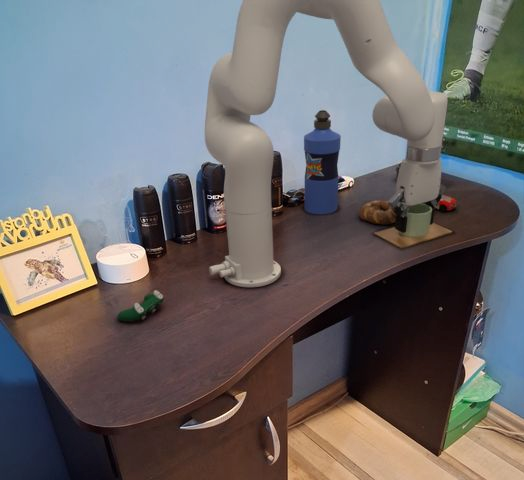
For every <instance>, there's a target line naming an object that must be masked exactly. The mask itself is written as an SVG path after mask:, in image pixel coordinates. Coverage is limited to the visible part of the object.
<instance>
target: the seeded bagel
mask: <svg viewBox="0 0 524 480" xmlns="http://www.w3.org/2000/svg"><path fill="white" fill-rule="evenodd" d="M389 200H390V199H388V200H386V201H385V200H381V199H375V200H372V201H369V202H367V203H364V204H363V205H361V207H360V208H359V210H358V216H359V218H360V219H361V220H363V221H366V222H367V221H368V223H371V224H374V225H375V224H380V225H384V226H386V225H391V224H396V214H395V213H394V211H393V210H392V209H391V207H390V205H389V203H388V202H389ZM397 204H399V202H398V203H397Z"/></svg>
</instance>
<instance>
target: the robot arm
mask: <svg viewBox="0 0 524 480" xmlns="http://www.w3.org/2000/svg"><path fill="white" fill-rule="evenodd" d="M296 13H299V14H302V15H305V16H309V17H314V18H318V19H325V20H332V21H333V22H334V23H335V26H336V28H337V30H338V33H339V35H340V37H341V39H342V41H343V44H344V46H345V48H346V51H347V54H348V55H349V57H350V60H351V62H352V65H353V66H354V68H355V69H356V70H357V72H359V73H360V74H361V75H362V76H363V77H364V78H365V79H367V80H368V81H369V82H371V83H372V84H374V85H375V86H376V87H377V88H378V89H379V90H381V91H382V93H384V95H385V96H383V97H382V98H380V99H379V100H378V101H377V102H376V103H375V105H374V107H373V110H372V115H371V116H372V121H373V124H374V125H375V126H376V128H378V129H379V130H380V131H382V132H385V133H386V134H390V135H393V136H397V137H399V138H402V139H404V140H406V148H405V156H404V157H405V158H404V159H402V161H401V162H402V163H401V162H400V163H401V166H400V167H399V168H400V169H399V173H398V178H396V183H395V191H394V194H393V195H392V197H391V198H389V199H388V200H389V202H388V203H389V205H390V207H391V209H392V210H393V211H394V213H395V214H396V223H395V225H394V227H395V229H396V230H398V231H400V232H402V233H405V232H406V226H407V217H406V214H407V212H408V210H409V208H410V206H414V205H417V204H421V203H426V205H428V206H430V207H431V208H432V214H431V221H430V225H431V224H433V223H434V218H435V212H436V211H435V210H436V209H435V208H437V206H438V202H439V201H440V200H441V198H442V195H443V194H444V193H445V192H446V190H447V187H446V186H445V185H444V184H443V183H442V182H441V180H442V157H441V153H442V150H443V148H444V145H443V139H444V130H445V124H446V117H447V110H448V101H449V100H448V96H447V95H446V94H445V93H443V92H440V91H431V90H430V91H429V89H428V86H427V84H426V82H425V80H424V78H423V75H421V74H420V72H419V70H418V69H417V68H416V66H415V65H414V64H413V63H412V61H411V59H409V57H408V56H407V54H406V53H405V52H404V51H403V49H401V48H400V46H399V45H398V44H397V42H396V40H395V37H394V34H393V33H392V30H391V27H390V25H389V22H388V19H387V16H386V13H385V11H384V8H383V5H382V2H381V0H242V1H241V5H240V7H239V11H238V14H237V15H238V16H237V19H236V24H235V25H236V26H235V34H234V39H233V46H232V51H231V52H229V53H226V54H224V55H222V56H221V57H220V58H219V59H218V60H217V61H216V62H215V64H214V66H213V67H212V70H211V72H210V75H209V80H208V87H207V97H206V108H205V120H204V143H205V147H206V149H207V151H208V153H209V154H210V156H211V157H212V158H213V159H215V161H217V162H218V163H220V164H221V165H222V166H224V171H225V173H224V183H223V201H224V202H223V204H224V214H225V225H226V235H227V246H228V255H225V256H224V261H222V262H221V263H220V264H215V265H210V266H209V267H208V272H209V275H210V276H215V275H218V274H219V277H220V278H224V279H225V281H226V282H228V283H229V284H231V285H232V286H235V287H241V288H259V287H260V288H261V287H264V286H268V285H270V284H272V283H274V282H276V281H278V279H279V278H280V277H281V275H282V267H281V264H279V263H278V262H276V261H275V260H274V236H273V235H274V234H273V232H274V231H273V208H272V207H273V206H272V177H273V176H272V175H273V168H274V167H273V166H274V159H275V152H274V145H273V143H272V142H273V141H272V139H271V138H270V136H269V135H268V133H267V132H266V131H265V130H264V129H263V128H262V127H261V126H259V125H258V124H256V123H254V122H251V116H259V115H263V114H265V113H266V112H267V111H269V109H270V108H271V107H272V105H273V103H274V102H275V97H276V91H277V86H278V78H279V70H280V65H281V64H280V63H281V59H282V58H281V57H282V52H283V45H284V40H285V36H286V32H287V29H288V27H289V25H290V22H291V21H292V19H293V18H294V16H295V15H296ZM444 195H445V194H444ZM397 203H399V204H397ZM403 205H405V207H404V209H403V211H402V207H403Z"/></svg>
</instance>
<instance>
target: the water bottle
mask: <svg viewBox="0 0 524 480" xmlns="http://www.w3.org/2000/svg"><path fill="white" fill-rule="evenodd" d="M314 117H315V119H314V120H313V130H312V131H310V132H308V133H306V134H305V135H304V136H303V151H304V158H305V171H304V210H305V212H307V213H309V214H313V215H328V214H332V213H335V212H336V211H337V210H338V204H339V203H338V202H339V170H338V163H339V156H340V150H341V141H342V140H341V138H342V137H341V134H340V133H338V132H337V131H333V130H332V129H331V125H332V120H331V119H330V117H331V115H330V113H329V112H328V111H327V110H325V109H323V110H318V112H317V113H316V114H315V115H314Z"/></svg>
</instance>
